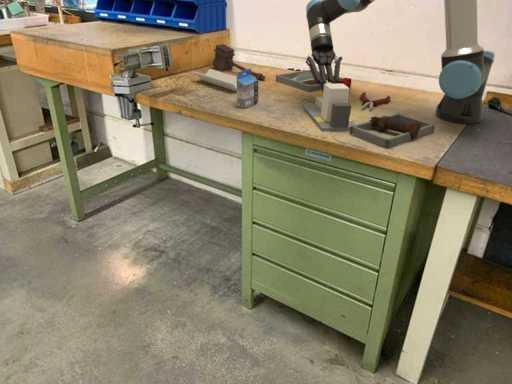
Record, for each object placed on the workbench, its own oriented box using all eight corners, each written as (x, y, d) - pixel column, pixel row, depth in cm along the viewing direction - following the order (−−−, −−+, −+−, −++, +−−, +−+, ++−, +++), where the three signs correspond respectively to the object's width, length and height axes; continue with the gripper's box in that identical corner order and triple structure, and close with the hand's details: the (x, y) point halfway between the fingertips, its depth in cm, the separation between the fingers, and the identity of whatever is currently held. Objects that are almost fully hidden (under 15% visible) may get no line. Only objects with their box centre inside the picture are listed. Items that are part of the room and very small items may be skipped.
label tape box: (245, 108, 148) (246, 74, 142) (235, 106, 150) (236, 72, 144) (258, 103, 155) (259, 69, 149) (249, 101, 157) (250, 67, 151)
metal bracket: (321, 67, 187) (318, 74, 174) (323, 80, 190) (321, 88, 177) (290, 73, 191) (285, 81, 178) (292, 86, 194) (288, 94, 181)
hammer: (222, 63, 206) (224, 43, 200) (267, 90, 189) (271, 69, 183) (211, 65, 202) (213, 44, 196) (256, 93, 185) (260, 71, 179)
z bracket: (209, 88, 187) (217, 77, 187) (247, 101, 171) (255, 89, 172) (193, 71, 177) (201, 60, 178) (231, 84, 162) (240, 70, 162)
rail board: (301, 106, 153) (303, 84, 149) (332, 105, 155) (335, 84, 151) (321, 131, 131) (324, 106, 127) (358, 130, 132) (362, 105, 129)
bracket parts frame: (346, 85, 182) (347, 79, 181) (310, 92, 170) (310, 86, 169) (311, 74, 197) (311, 69, 196) (275, 80, 185) (275, 75, 184)
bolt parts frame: (433, 132, 133) (435, 124, 132) (386, 148, 120) (388, 140, 118) (396, 120, 142) (397, 113, 141) (349, 133, 129) (350, 126, 128)
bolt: (370, 131, 136) (415, 141, 128) (365, 127, 132) (411, 137, 124) (376, 114, 136) (422, 123, 127) (371, 109, 132) (418, 119, 123)
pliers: (349, 110, 152) (350, 103, 151) (361, 97, 168) (362, 90, 167) (381, 115, 148) (382, 108, 146) (390, 101, 164) (392, 95, 163)
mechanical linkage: (342, 98, 164) (344, 86, 162) (325, 95, 167) (327, 83, 165) (355, 90, 176) (357, 78, 174) (339, 87, 179) (341, 75, 177)
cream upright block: (320, 115, 140) (324, 83, 135) (338, 115, 141) (343, 83, 136) (326, 121, 135) (329, 88, 130) (344, 121, 136) (349, 88, 131)
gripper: (335, 47, 151) (345, 106, 144) (300, 47, 149) (308, 107, 142) (342, 34, 143) (352, 96, 137) (305, 34, 141) (314, 96, 135)
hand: (330, 101), depth 140 cm, fingers closed
